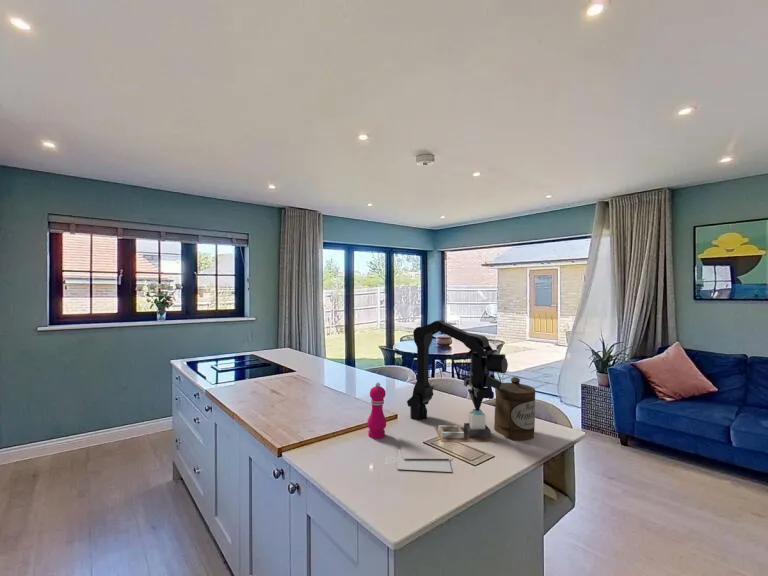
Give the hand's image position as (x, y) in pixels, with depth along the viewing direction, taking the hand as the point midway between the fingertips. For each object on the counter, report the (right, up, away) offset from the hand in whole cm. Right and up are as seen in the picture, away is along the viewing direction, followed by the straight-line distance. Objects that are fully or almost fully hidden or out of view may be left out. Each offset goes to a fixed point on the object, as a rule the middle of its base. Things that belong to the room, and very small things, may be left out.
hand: (477, 410), depth 142 cm
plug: (0, -9, 0) cm, 9 cm away
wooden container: (+16, -11, +5) cm, 20 cm away
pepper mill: (-38, -9, -1) cm, 39 cm away
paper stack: (-27, -10, -25) cm, 38 cm away
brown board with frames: (-5, -10, 0) cm, 11 cm away
